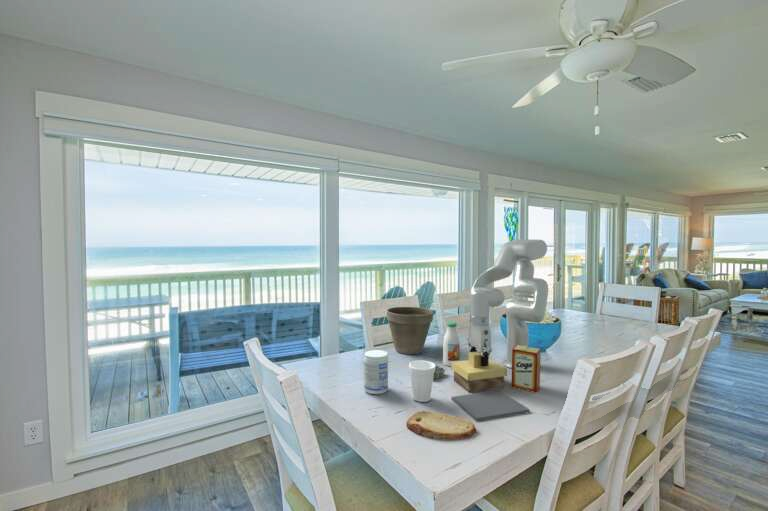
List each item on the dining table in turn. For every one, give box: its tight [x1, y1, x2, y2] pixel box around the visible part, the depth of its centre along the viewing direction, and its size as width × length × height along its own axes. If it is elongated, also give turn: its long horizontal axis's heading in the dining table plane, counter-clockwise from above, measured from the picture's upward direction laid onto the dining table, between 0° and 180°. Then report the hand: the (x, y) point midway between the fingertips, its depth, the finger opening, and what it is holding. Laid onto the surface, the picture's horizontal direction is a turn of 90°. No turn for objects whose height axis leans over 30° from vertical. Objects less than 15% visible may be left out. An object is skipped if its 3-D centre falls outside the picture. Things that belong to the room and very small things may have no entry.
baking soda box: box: [511, 345, 542, 393], centre depth 147 cm, size 10×6×16 cm
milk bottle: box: [442, 321, 461, 367], centre depth 174 cm, size 8×8×20 cm
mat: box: [451, 389, 530, 422], centre depth 131 cm, size 21×17×1 cm
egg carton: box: [433, 364, 447, 381], centre depth 159 cm, size 11×8×4 cm
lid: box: [450, 350, 508, 381], centre depth 150 cm, size 18×14×8 cm
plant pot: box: [386, 306, 434, 355], centre depth 195 cm, size 25×25×22 cm
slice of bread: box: [406, 410, 478, 441], centre depth 115 cm, size 18×18×4 cm
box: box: [453, 370, 505, 393], centre depth 150 cm, size 16×12×7 cm
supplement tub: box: [363, 349, 389, 395], centre depth 143 cm, size 10×10×15 cm
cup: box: [408, 360, 436, 403], centre depth 135 cm, size 10×10×13 cm
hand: (478, 362), depth 150 cm, fingers open, 7 cm apart
